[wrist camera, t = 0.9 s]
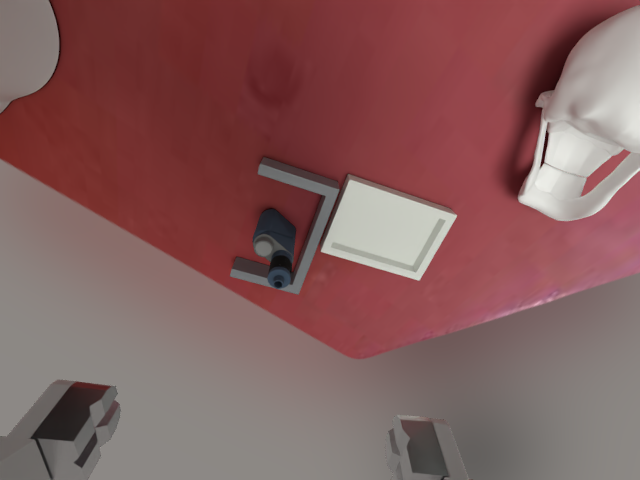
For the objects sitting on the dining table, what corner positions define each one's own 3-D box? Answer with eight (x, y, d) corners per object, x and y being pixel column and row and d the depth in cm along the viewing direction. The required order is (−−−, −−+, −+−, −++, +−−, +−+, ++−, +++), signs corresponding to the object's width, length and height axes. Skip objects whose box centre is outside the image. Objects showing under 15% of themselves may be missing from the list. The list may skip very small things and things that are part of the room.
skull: (596, 231, 40) (710, 46, 33) (662, 268, 27) (874, -23, 20) (485, 194, 43) (567, 19, 37) (496, 211, 30) (627, -54, 24)
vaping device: (286, 242, 44) (278, 299, 34) (256, 216, 43) (237, 267, 32) (300, 230, 44) (296, 284, 33) (270, 203, 42) (256, 251, 31)
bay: (234, 263, 46) (229, 276, 43) (263, 156, 39) (260, 163, 36) (299, 281, 47) (298, 294, 45) (337, 181, 41) (339, 189, 38)
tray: (320, 243, 45) (320, 251, 43) (347, 173, 40) (349, 179, 38) (415, 271, 47) (419, 280, 45) (450, 208, 43) (457, 215, 41)
